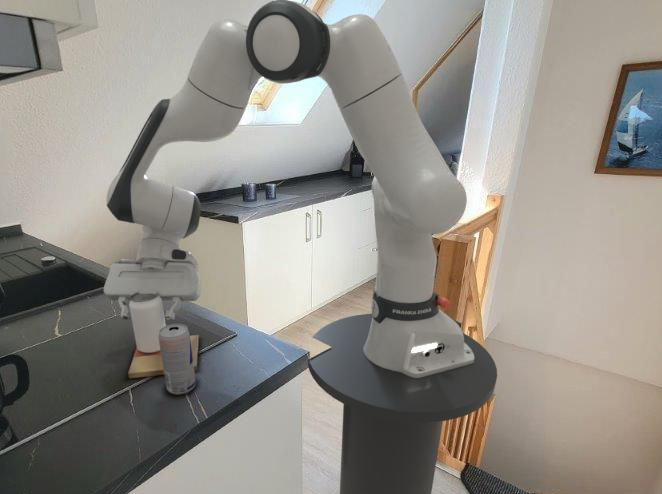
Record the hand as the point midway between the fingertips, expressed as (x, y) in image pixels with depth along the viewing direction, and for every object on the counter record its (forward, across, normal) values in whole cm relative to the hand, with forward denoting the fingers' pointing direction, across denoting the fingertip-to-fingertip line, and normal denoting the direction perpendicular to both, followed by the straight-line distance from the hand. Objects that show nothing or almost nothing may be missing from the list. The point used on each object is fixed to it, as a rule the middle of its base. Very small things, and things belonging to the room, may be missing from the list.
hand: (147, 319), depth 84 cm
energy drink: (+14, +10, -2) cm, 17 cm away
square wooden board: (+7, +4, +5) cm, 9 cm away
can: (+5, 0, +5) cm, 7 cm away
